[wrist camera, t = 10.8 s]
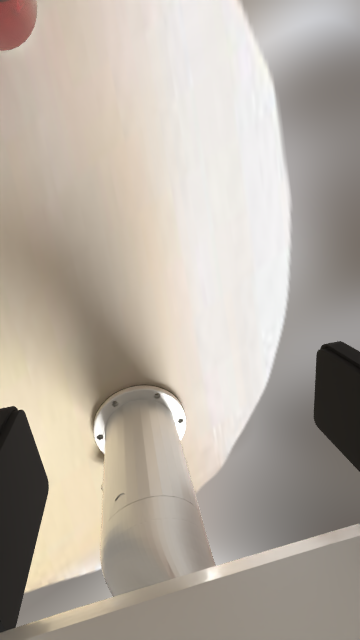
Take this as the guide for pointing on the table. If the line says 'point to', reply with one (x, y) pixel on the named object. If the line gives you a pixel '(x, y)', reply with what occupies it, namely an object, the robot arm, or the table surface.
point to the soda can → (16, 22)
